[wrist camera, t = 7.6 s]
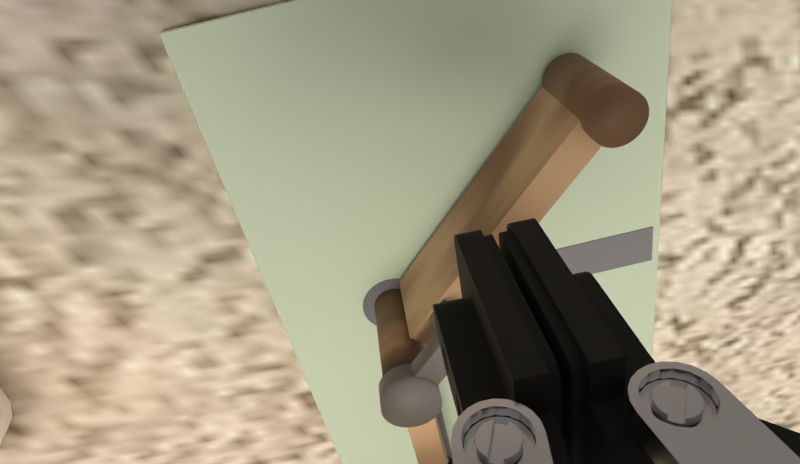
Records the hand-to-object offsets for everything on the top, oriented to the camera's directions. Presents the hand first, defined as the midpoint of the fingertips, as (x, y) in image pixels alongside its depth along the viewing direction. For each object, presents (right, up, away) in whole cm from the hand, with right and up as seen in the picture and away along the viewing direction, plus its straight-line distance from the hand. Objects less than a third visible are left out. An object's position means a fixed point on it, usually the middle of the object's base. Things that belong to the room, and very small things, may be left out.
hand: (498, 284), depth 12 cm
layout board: (+1, -1, +13) cm, 13 cm away
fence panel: (+1, +2, +11) cm, 11 cm away
